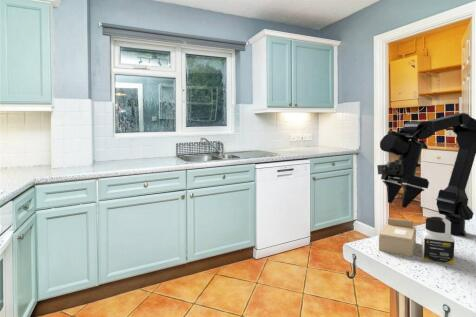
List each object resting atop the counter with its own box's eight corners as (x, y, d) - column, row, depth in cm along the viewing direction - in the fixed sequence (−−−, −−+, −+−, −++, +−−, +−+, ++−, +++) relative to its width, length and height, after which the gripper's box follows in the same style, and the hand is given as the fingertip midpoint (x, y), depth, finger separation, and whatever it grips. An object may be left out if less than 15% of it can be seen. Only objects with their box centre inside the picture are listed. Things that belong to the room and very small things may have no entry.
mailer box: (385, 239, 102) (385, 225, 102) (415, 244, 97) (416, 229, 96) (378, 251, 92) (379, 236, 92) (411, 258, 87) (412, 241, 87)
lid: (386, 224, 101) (386, 217, 101) (415, 229, 97) (415, 221, 96) (379, 236, 92) (379, 227, 92) (411, 241, 87) (411, 232, 87)
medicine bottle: (423, 261, 85) (424, 220, 84) (421, 251, 91) (422, 213, 90) (453, 265, 82) (455, 223, 81) (449, 255, 88) (451, 216, 87)
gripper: (372, 153, 106) (361, 195, 106) (398, 152, 87) (385, 203, 87) (403, 161, 105) (391, 203, 105) (436, 161, 87) (422, 213, 87)
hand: (396, 205), depth 96 cm, fingers open, 9 cm apart
